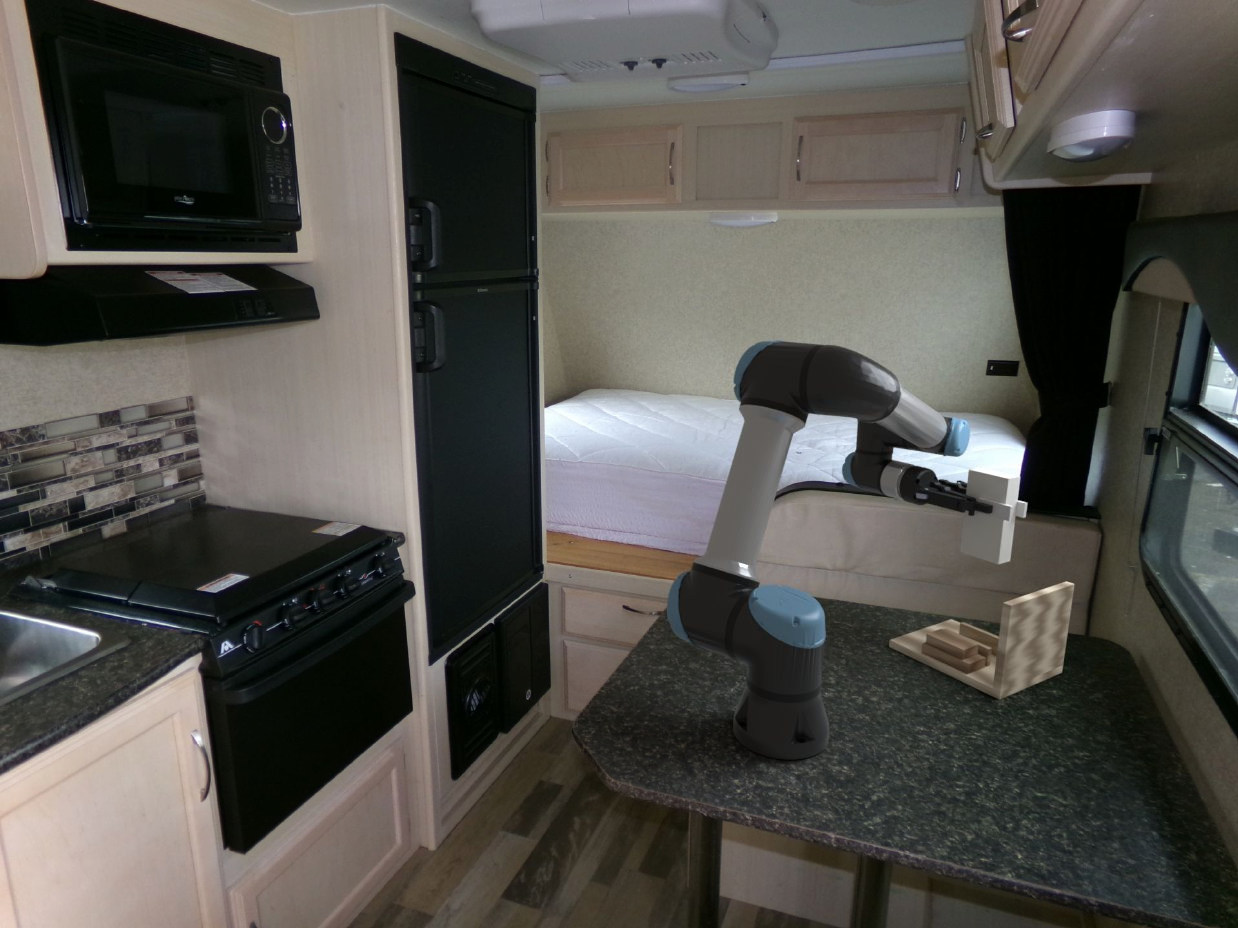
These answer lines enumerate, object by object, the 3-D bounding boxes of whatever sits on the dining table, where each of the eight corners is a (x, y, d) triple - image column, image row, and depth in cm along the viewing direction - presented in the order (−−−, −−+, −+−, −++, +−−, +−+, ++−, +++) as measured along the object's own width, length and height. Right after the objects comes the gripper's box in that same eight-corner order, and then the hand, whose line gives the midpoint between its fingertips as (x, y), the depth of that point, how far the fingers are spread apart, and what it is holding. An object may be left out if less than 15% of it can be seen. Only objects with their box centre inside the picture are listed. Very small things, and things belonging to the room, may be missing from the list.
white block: (998, 564, 149) (1008, 478, 145) (959, 551, 155) (968, 469, 152) (1010, 561, 151) (1020, 476, 147) (971, 548, 157) (980, 467, 154)
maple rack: (999, 699, 143) (1011, 605, 139) (889, 646, 163) (896, 563, 159) (1061, 672, 153) (1074, 583, 149) (950, 625, 173) (959, 546, 169)
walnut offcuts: (967, 674, 149) (969, 653, 148) (921, 652, 157) (923, 633, 156) (984, 667, 151) (987, 647, 151) (938, 646, 160) (940, 627, 159)
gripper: (935, 495, 171) (1042, 525, 151) (880, 507, 162) (987, 539, 143) (938, 460, 169) (1048, 485, 150) (883, 470, 160) (992, 498, 141)
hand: (1018, 511), depth 146 cm, fingers closed on white block, 3 cm apart
